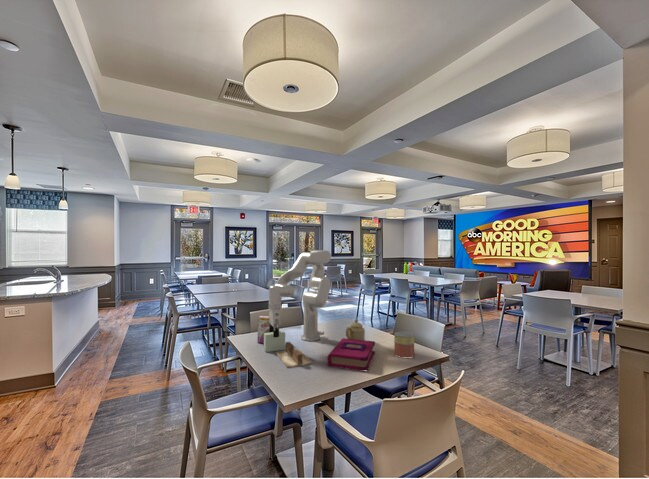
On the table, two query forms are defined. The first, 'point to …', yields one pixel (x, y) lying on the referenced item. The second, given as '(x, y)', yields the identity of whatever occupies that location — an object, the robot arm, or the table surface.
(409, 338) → the canned food
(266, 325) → the candy bar box
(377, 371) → the table surface
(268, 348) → the sage plate
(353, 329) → the sugar bowl
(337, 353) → the book
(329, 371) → the table surface
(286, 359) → the slot board
